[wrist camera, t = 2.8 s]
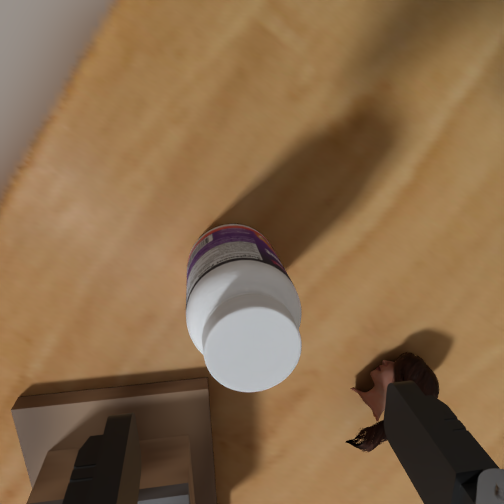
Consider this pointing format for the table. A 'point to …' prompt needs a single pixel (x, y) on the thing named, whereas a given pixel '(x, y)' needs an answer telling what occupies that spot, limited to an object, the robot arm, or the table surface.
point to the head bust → (376, 397)
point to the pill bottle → (242, 309)
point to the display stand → (149, 431)
